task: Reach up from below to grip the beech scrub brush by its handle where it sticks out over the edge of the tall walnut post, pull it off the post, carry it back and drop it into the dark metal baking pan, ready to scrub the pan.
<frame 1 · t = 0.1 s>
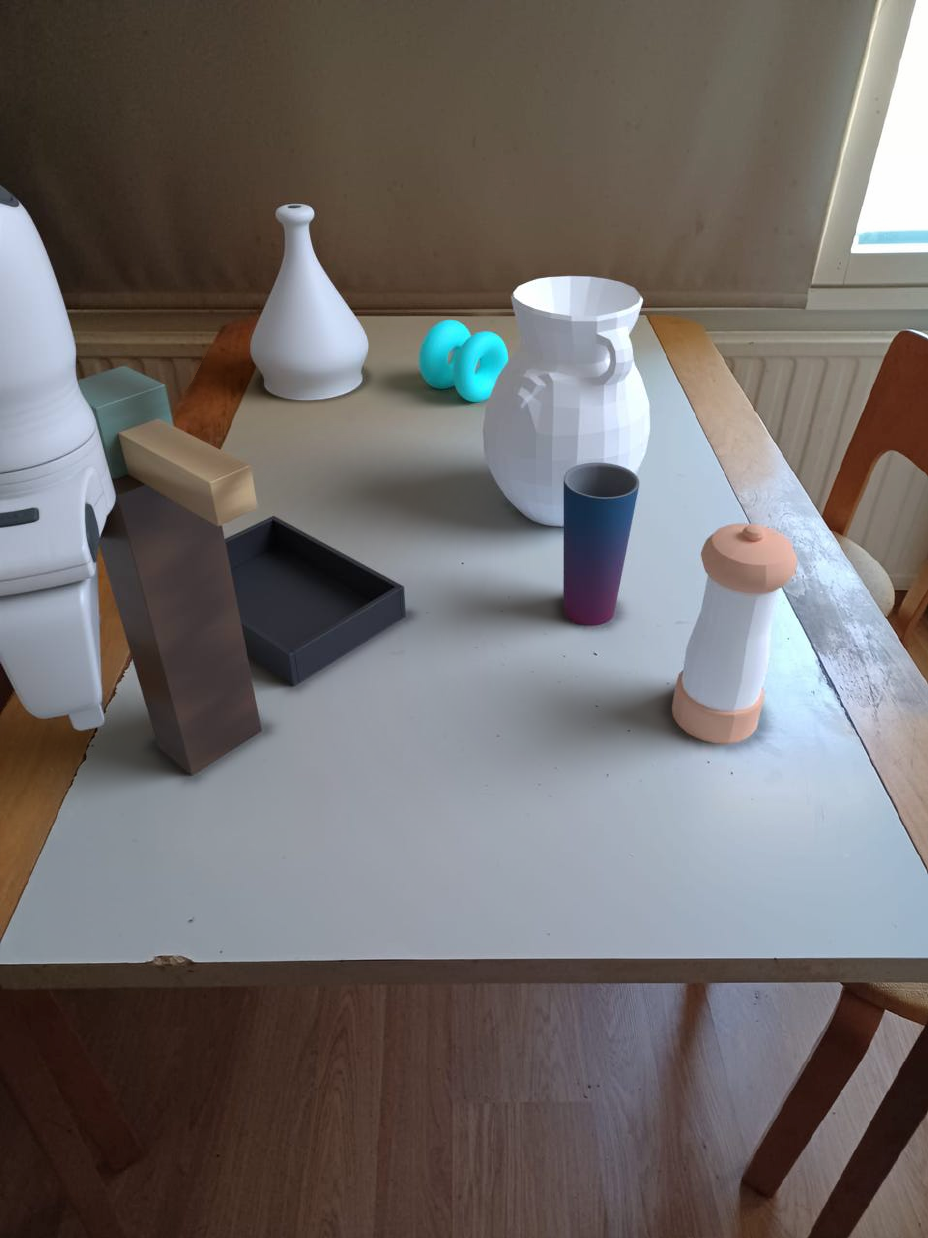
hand: (89, 673, 59), 16 cm above the table, tool pointing down, fingers open, 8 cm apart
vase: (313, 383, 138), on the table
cup: (588, 614, 91), on the table
donuts: (463, 394, 134), on the table
scrub brush: (143, 464, 61), point 26 cm above the table, touching shelf post
pan: (285, 610, 91), on the table
pepper shaker: (713, 718, 79), on the table
shelf post: (211, 741, 77), on the table
pitcher: (560, 508, 108), on the table
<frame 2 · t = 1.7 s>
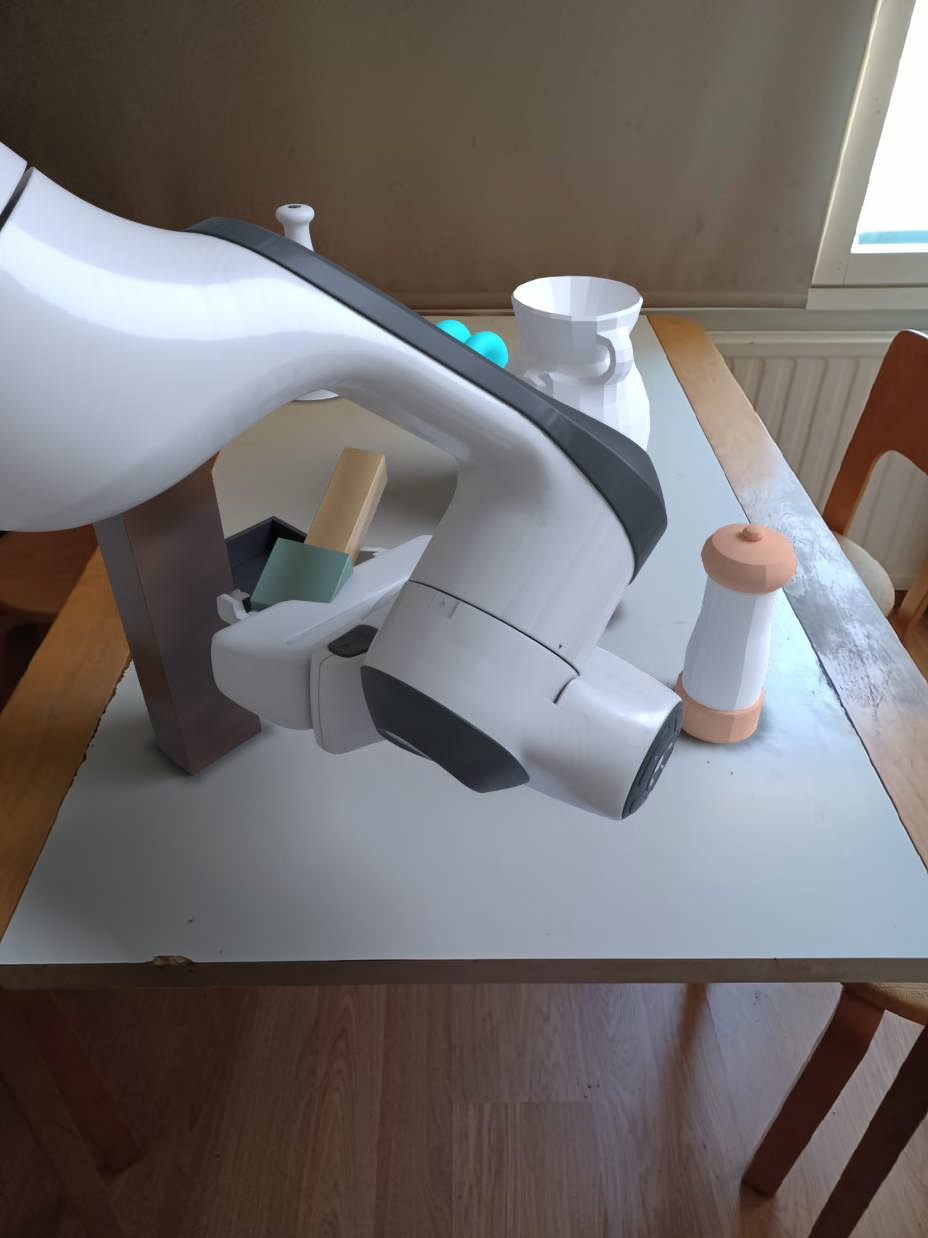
hand: (282, 576, 63), 19 cm above the table, tool horizontal, fingers closed on scrub brush, 8 cm apart
scrub brush: (321, 591, 63), point 18 cm above the table, tilted 23°, touching gripper
everything else where it was.
when the fingers open (17 cm above the table, at t = 18.2 s): scrub brush drops 5 cm and tips over, point 12 cm above the table.
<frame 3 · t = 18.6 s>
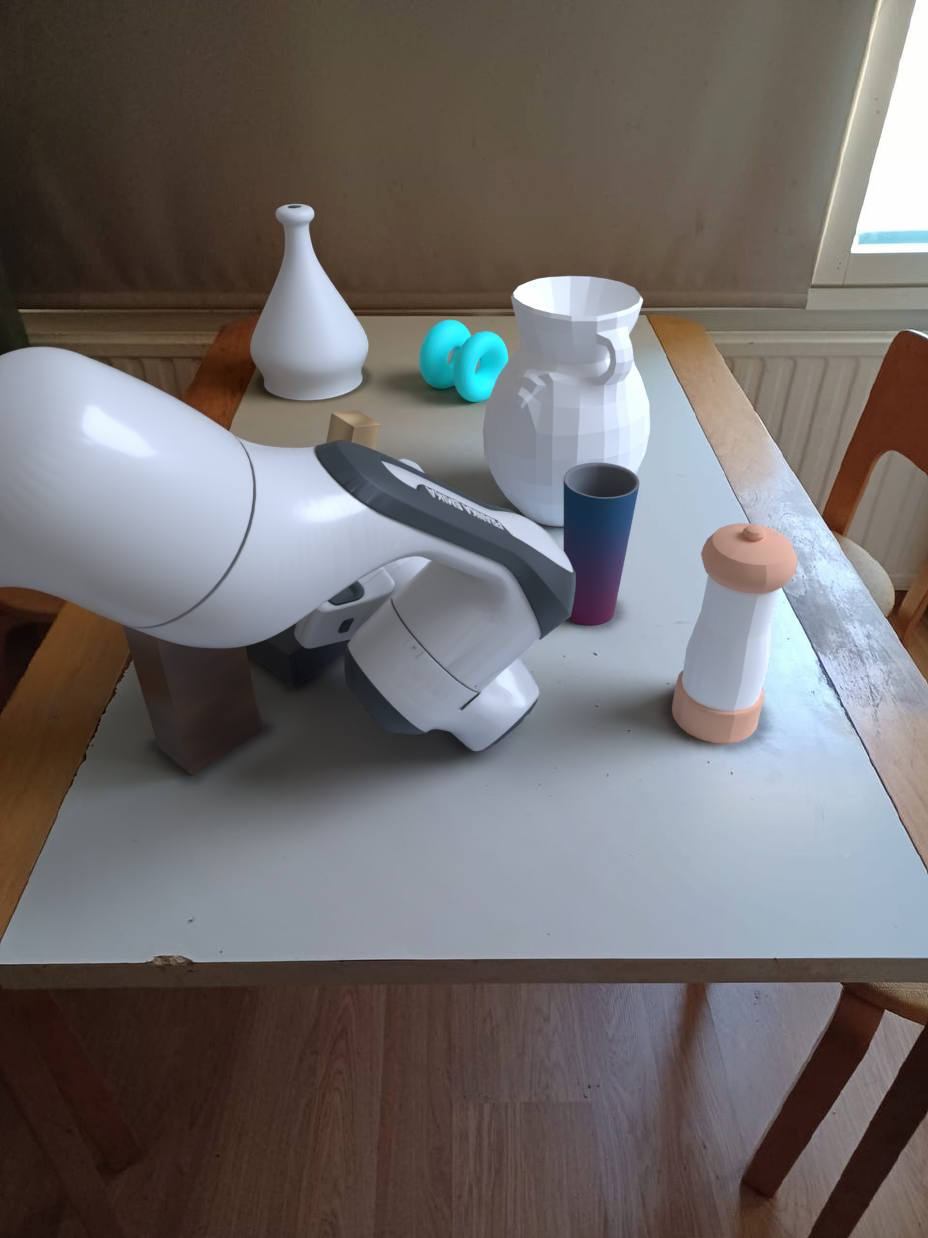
hand: (288, 468, 79), 17 cm above the table, tool pointing upward, fingers open, 8 cm apart
scrub brush: (324, 520, 82), point 12 cm above the table, tilted 96°
everything else where it was.
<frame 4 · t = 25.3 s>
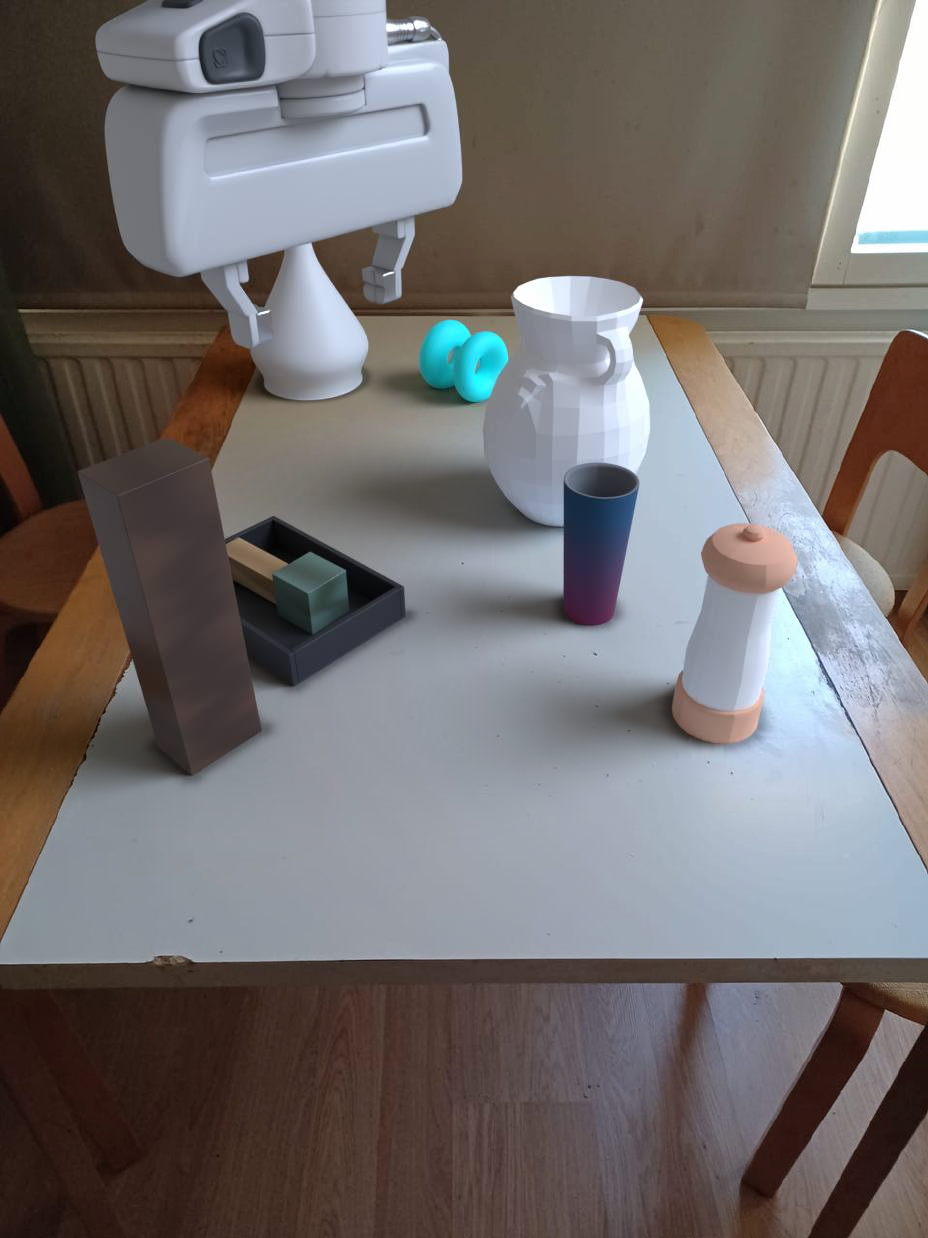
hand: (321, 320, 51), 37 cm above the table, tool pointing down, fingers open, 8 cm apart
scrub brush: (299, 605, 91), point 1 cm above the table, touching pan
everything else where it was.
at the end: scrub brush inside the target area in the pan (1.6 cm from its centre), point 0.6 cm above the pan's base; the gripper is holding nothing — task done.
